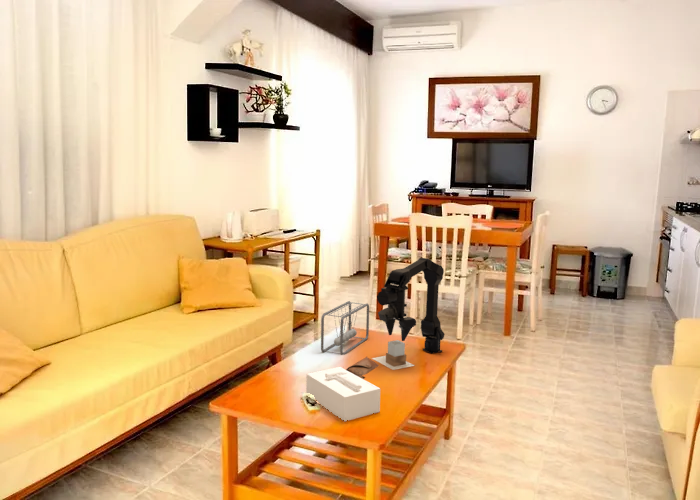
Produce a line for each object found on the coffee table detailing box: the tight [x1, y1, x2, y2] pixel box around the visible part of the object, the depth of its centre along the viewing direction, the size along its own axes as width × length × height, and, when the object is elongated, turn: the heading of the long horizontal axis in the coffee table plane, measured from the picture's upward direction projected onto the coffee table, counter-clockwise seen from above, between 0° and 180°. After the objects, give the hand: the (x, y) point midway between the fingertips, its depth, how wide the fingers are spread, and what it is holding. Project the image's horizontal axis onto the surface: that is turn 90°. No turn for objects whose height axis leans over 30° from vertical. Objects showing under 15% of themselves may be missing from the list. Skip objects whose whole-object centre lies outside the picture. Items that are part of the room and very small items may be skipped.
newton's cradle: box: [320, 300, 370, 356], centre depth 277 cm, size 30×10×18 cm, turn 155°
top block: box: [387, 339, 406, 357], centre depth 252 cm, size 5×5×5 cm
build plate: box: [371, 355, 415, 371], centre depth 254 cm, size 11×16×1 cm
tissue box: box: [305, 366, 381, 422], centre depth 212 cm, size 14×25×11 cm, turn 34°
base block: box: [385, 352, 407, 367], centre depth 252 cm, size 6×6×4 cm
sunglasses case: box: [345, 356, 380, 380], centre depth 246 cm, size 18×7×7 cm
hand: (396, 337), depth 251 cm, fingers open, 9 cm apart
